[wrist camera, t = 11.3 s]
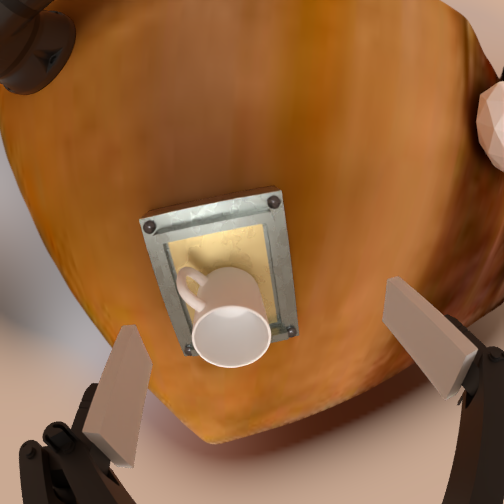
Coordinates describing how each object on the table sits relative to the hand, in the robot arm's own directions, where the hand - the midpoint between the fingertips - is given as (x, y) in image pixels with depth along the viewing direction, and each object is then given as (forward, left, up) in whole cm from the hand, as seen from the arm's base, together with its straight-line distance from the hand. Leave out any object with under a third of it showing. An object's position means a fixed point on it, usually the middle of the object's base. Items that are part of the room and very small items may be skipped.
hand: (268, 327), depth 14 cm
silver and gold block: (+8, -3, -28) cm, 29 cm away
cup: (+8, -4, -23) cm, 24 cm away
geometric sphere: (-11, +53, -28) cm, 60 cm away
